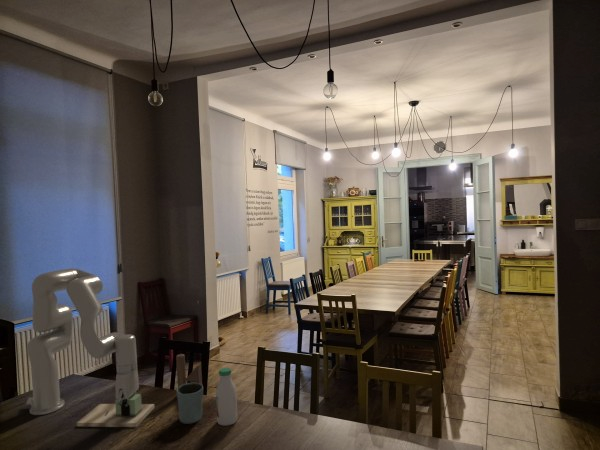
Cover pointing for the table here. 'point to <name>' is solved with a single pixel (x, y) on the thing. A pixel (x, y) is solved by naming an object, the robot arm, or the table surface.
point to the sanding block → (131, 405)
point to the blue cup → (190, 402)
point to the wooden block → (181, 373)
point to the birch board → (113, 417)
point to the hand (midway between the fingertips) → (129, 411)
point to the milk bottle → (226, 399)
